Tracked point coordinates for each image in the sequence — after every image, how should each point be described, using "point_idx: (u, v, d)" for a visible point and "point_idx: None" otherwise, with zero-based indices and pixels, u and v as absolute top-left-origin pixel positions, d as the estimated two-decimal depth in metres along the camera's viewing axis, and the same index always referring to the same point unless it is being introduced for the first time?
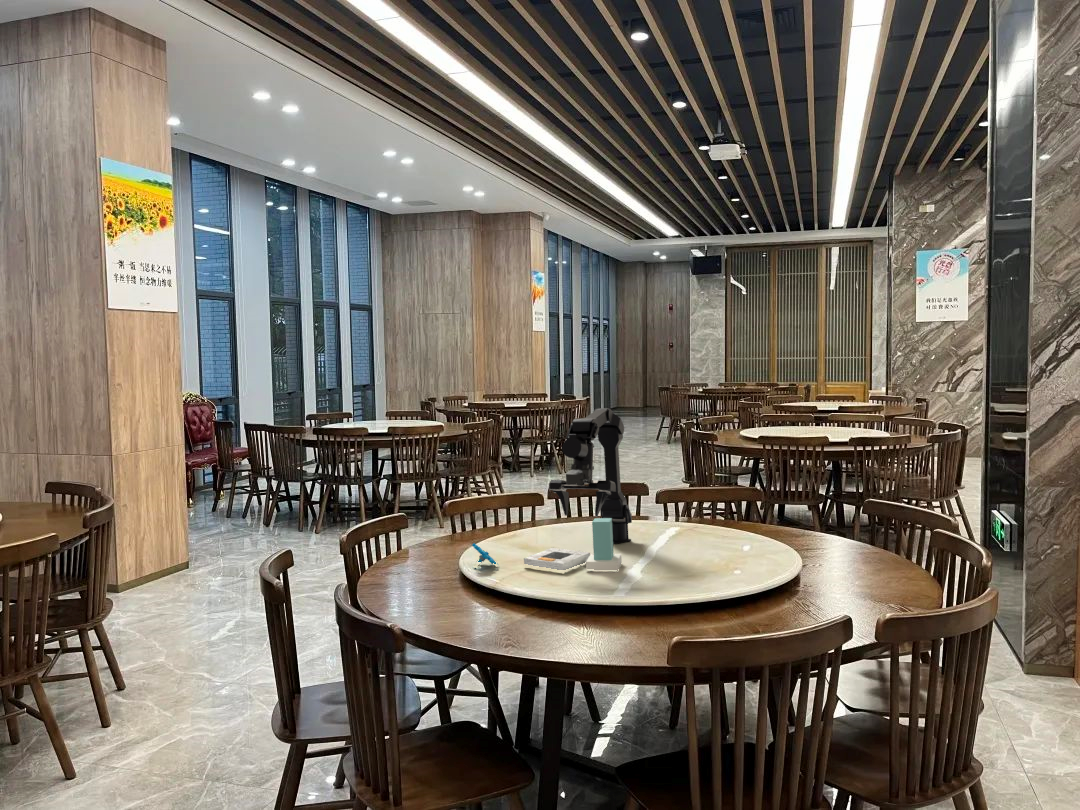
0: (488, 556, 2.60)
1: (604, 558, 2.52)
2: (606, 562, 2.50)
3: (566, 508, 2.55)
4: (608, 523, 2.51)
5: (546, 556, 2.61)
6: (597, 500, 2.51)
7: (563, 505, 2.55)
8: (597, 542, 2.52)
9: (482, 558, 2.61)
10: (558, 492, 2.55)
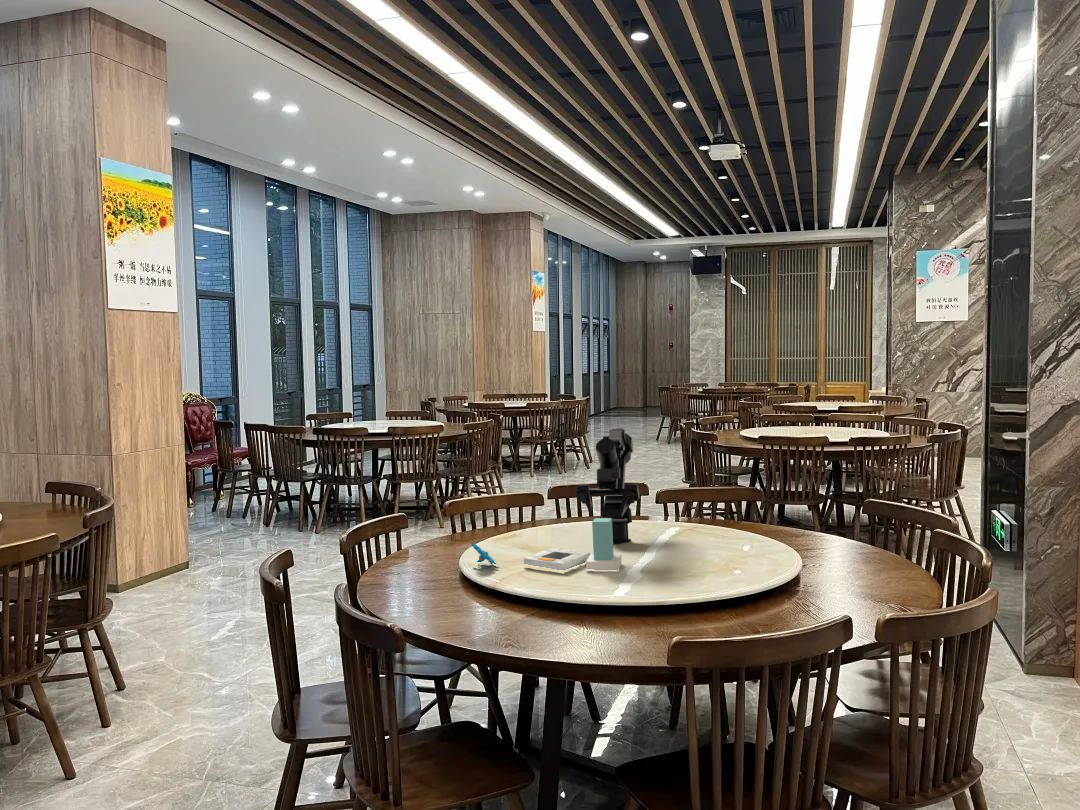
0: (487, 556, 2.60)
1: (604, 558, 2.52)
2: (606, 562, 2.50)
3: (591, 510, 2.63)
4: (608, 523, 2.51)
5: (546, 556, 2.61)
6: (623, 500, 2.62)
7: (588, 506, 2.63)
8: (597, 542, 2.52)
9: (482, 558, 2.61)
10: (585, 493, 2.65)
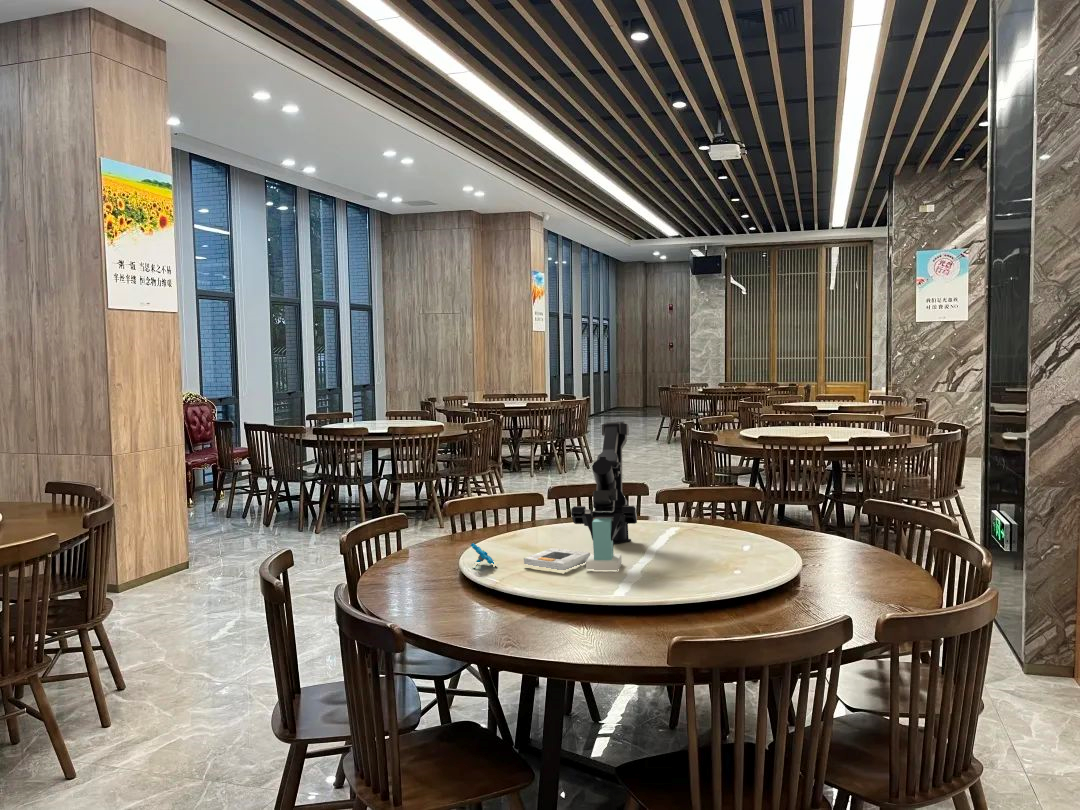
0: (486, 556, 2.60)
1: (604, 558, 2.52)
2: (606, 562, 2.50)
3: None
4: (608, 523, 2.51)
5: (546, 556, 2.61)
6: (614, 523, 2.54)
7: (591, 529, 2.54)
8: (597, 542, 2.52)
9: (481, 558, 2.61)
10: (587, 515, 2.55)
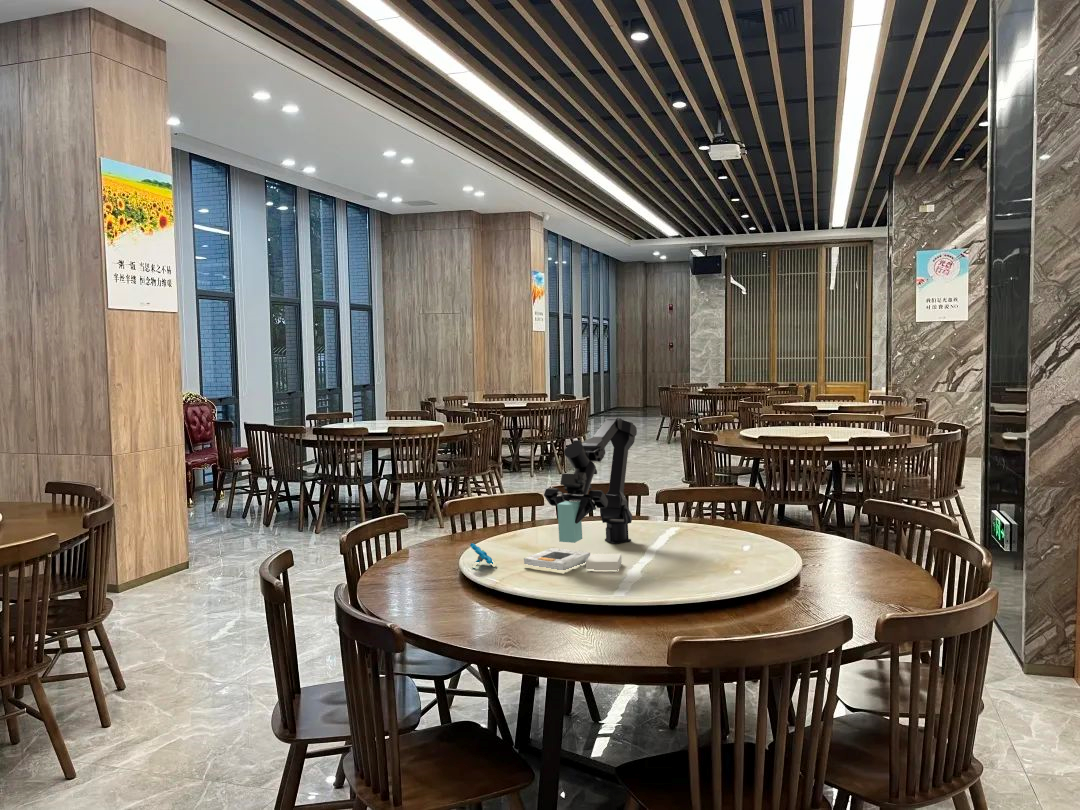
0: (486, 556, 2.60)
1: (568, 540, 2.54)
2: (606, 562, 2.50)
3: None
4: (571, 506, 2.53)
5: (546, 556, 2.61)
6: (580, 507, 2.55)
7: None
8: (562, 524, 2.55)
9: (480, 558, 2.61)
10: (557, 498, 2.59)
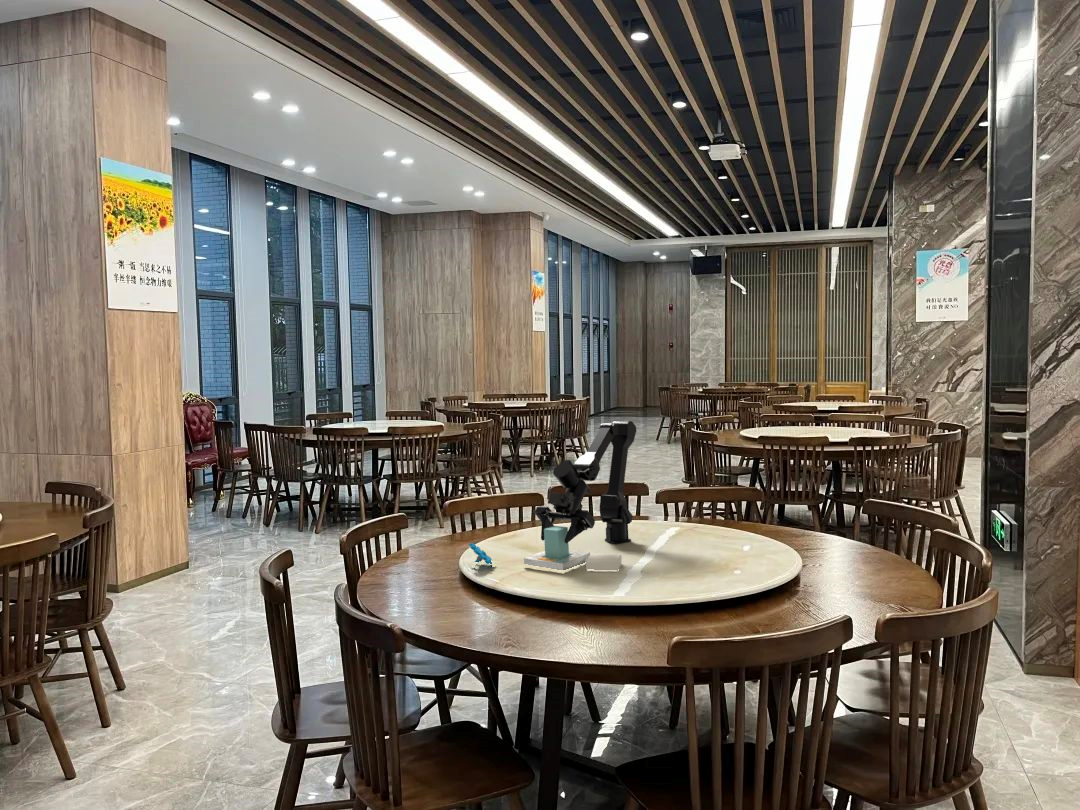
0: (484, 556, 2.60)
1: None
2: (606, 562, 2.50)
3: None
4: (556, 532, 2.56)
5: None
6: (570, 527, 2.57)
7: (542, 529, 2.62)
8: (548, 549, 2.58)
9: (479, 558, 2.61)
10: (541, 516, 2.63)
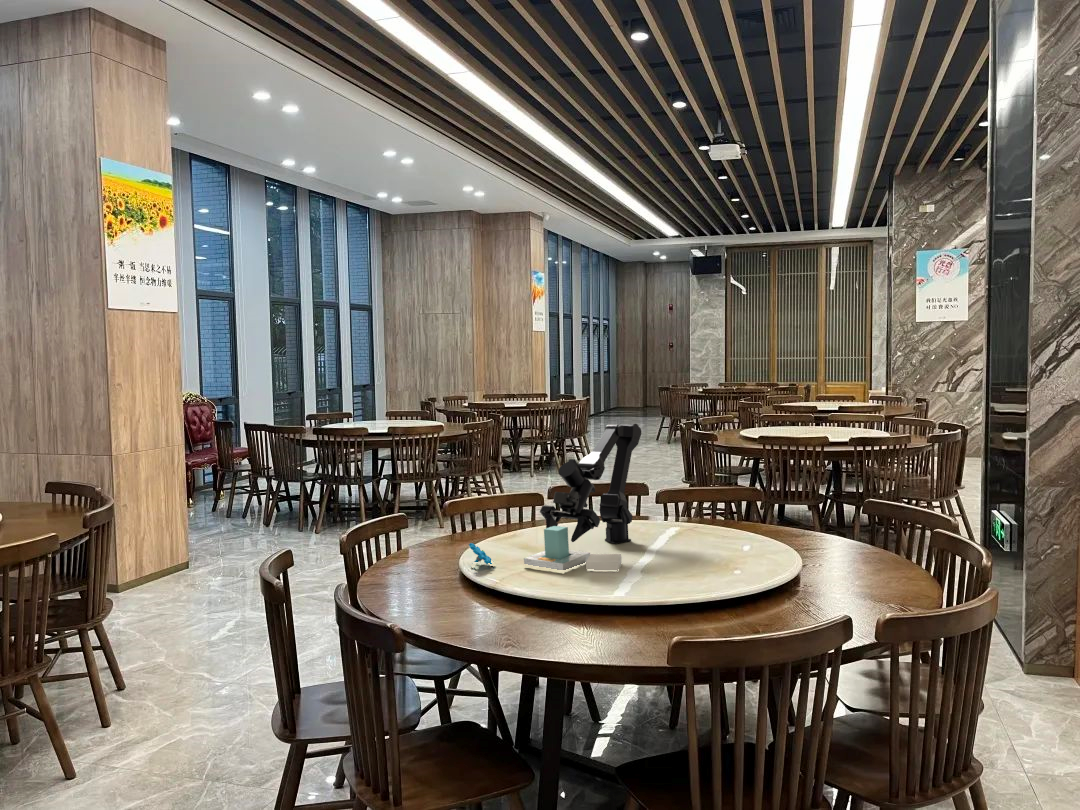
0: (484, 556, 2.60)
1: None
2: (606, 562, 2.50)
3: None
4: (556, 532, 2.56)
5: None
6: (577, 526, 2.59)
7: None
8: (548, 549, 2.58)
9: (478, 558, 2.61)
10: (546, 515, 2.66)
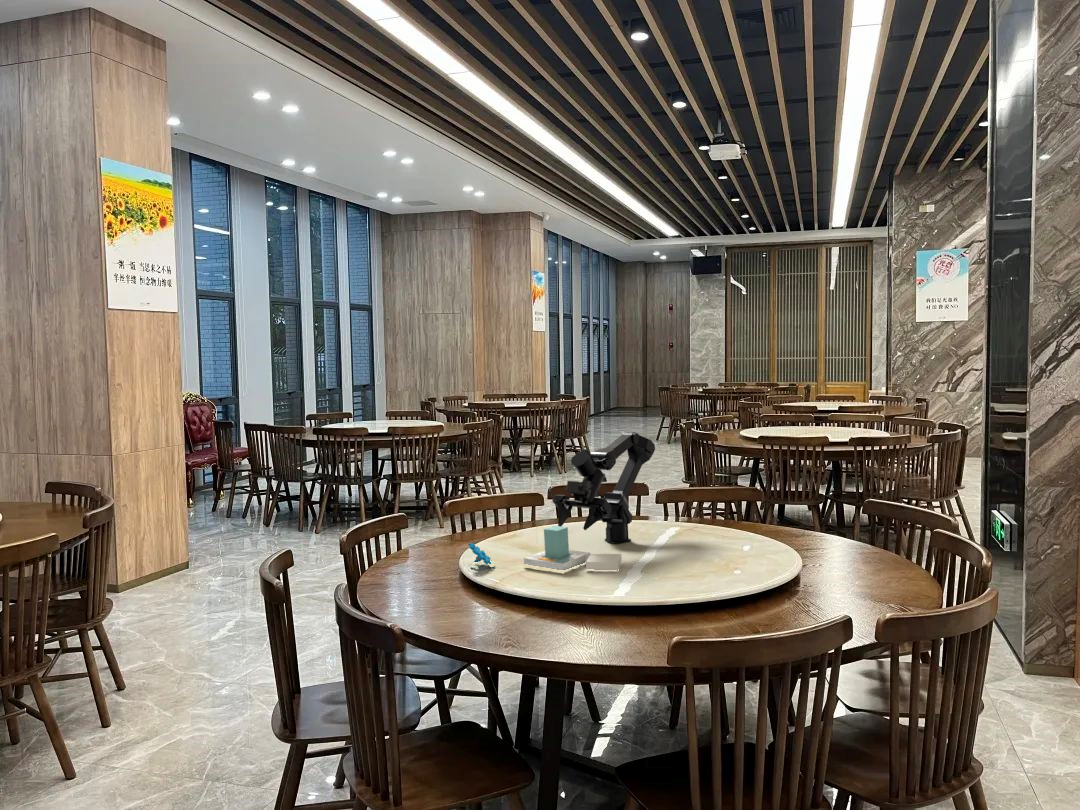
0: (483, 556, 2.60)
1: None
2: (606, 562, 2.50)
3: (561, 520, 2.69)
4: (556, 532, 2.56)
5: None
6: (589, 514, 2.64)
7: (559, 516, 2.69)
8: (548, 549, 2.58)
9: (478, 558, 2.61)
10: (558, 503, 2.71)
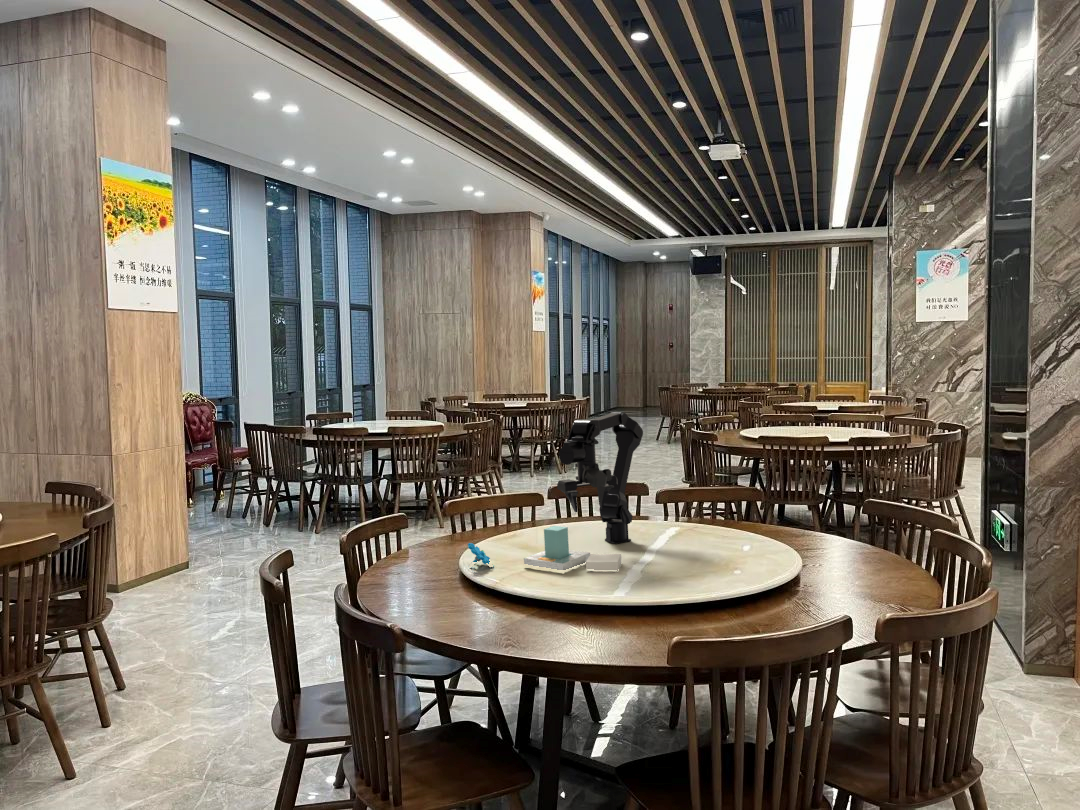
0: (482, 556, 2.60)
1: None
2: (606, 562, 2.50)
3: None
4: (556, 532, 2.56)
5: None
6: (604, 494, 2.75)
7: (575, 503, 2.70)
8: (548, 549, 2.58)
9: (477, 558, 2.61)
10: (574, 493, 2.68)
